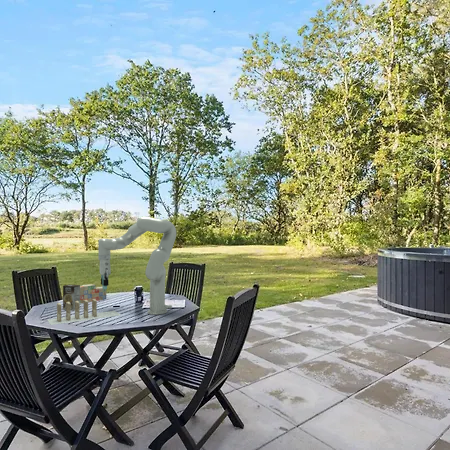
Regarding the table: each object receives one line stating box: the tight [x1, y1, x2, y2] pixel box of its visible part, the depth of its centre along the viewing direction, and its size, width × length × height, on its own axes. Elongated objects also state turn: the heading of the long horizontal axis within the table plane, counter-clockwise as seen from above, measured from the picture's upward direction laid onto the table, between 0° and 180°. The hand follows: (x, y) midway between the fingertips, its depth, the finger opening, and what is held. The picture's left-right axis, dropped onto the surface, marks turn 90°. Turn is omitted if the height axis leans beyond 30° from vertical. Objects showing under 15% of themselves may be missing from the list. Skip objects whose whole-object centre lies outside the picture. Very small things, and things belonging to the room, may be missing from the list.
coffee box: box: [62, 284, 81, 311], centre depth 243 cm, size 9×6×16 cm
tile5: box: [65, 302, 72, 321], centre depth 214 cm, size 2×5×10 cm, turn 34°
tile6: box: [56, 302, 62, 322], centre depth 212 cm, size 2×5×10 cm, turn 34°
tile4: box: [74, 301, 81, 319], centre depth 217 cm, size 2×5×10 cm, turn 34°
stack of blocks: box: [80, 283, 107, 305], centre depth 270 cm, size 21×6×12 cm, turn 140°
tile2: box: [91, 299, 98, 317], centre depth 223 cm, size 2×5×10 cm, turn 34°
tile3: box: [83, 300, 89, 318], centre depth 220 cm, size 2×5×10 cm, turn 34°
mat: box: [47, 310, 121, 326], centre depth 220 cm, size 40×14×1 cm, turn 124°
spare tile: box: [101, 274, 108, 290], centre depth 238 cm, size 2×5×10 cm, turn 33°
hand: (104, 284), depth 238 cm, fingers closed on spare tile, 4 cm apart
